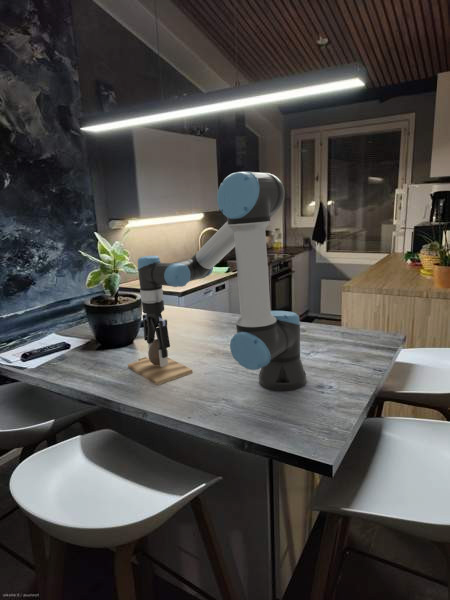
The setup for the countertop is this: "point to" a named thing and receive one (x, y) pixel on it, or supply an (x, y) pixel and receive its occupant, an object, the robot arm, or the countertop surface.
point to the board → (159, 370)
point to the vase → (154, 353)
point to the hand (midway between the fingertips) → (158, 362)
